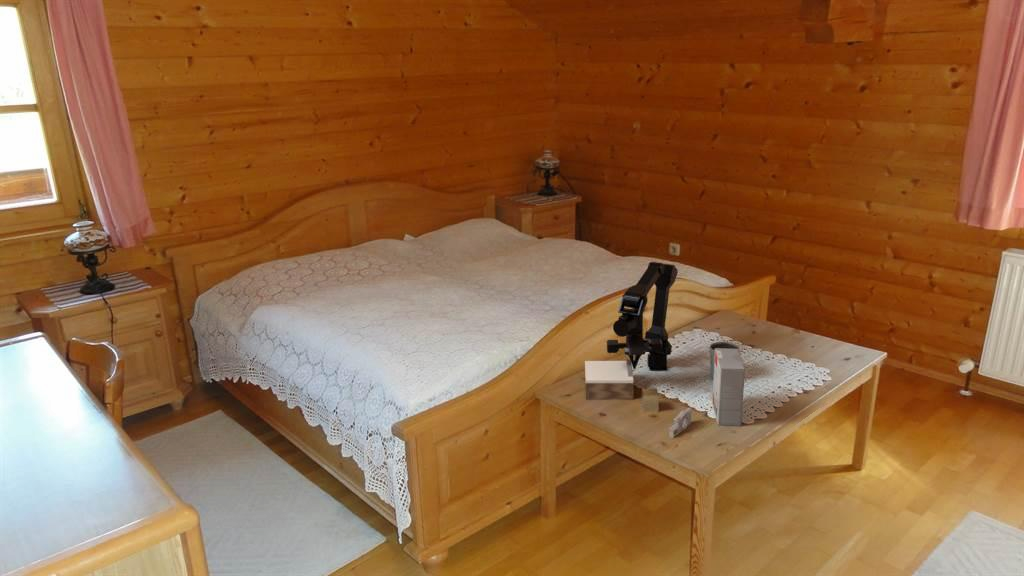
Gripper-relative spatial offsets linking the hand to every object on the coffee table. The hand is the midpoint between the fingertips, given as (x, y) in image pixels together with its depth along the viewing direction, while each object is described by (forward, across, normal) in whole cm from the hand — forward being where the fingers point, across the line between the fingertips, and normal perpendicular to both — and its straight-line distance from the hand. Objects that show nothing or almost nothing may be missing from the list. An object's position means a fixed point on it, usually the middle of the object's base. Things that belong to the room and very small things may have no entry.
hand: (634, 368), depth 247 cm
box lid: (+2, -9, 0) cm, 9 cm away
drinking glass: (+8, +32, +9) cm, 34 cm away
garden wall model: (+8, +12, -28) cm, 32 cm away
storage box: (+8, -9, 0) cm, 12 cm away
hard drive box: (+8, +28, -18) cm, 34 cm away
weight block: (+8, +4, -14) cm, 17 cm away
